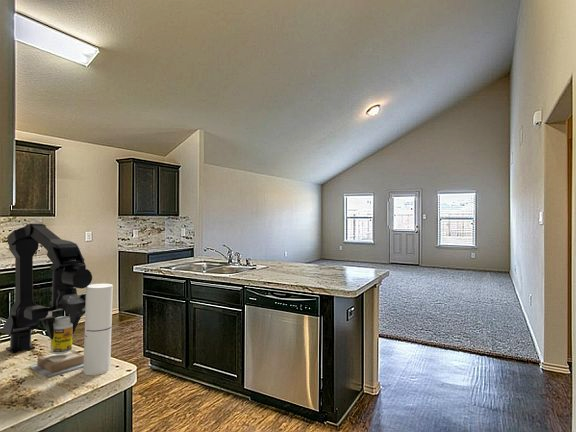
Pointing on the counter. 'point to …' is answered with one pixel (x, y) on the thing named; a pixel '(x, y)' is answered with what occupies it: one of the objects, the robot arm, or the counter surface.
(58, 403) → the counter surface
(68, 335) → the supplement bottle
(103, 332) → the cylindrical container
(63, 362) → the tiered square riser
